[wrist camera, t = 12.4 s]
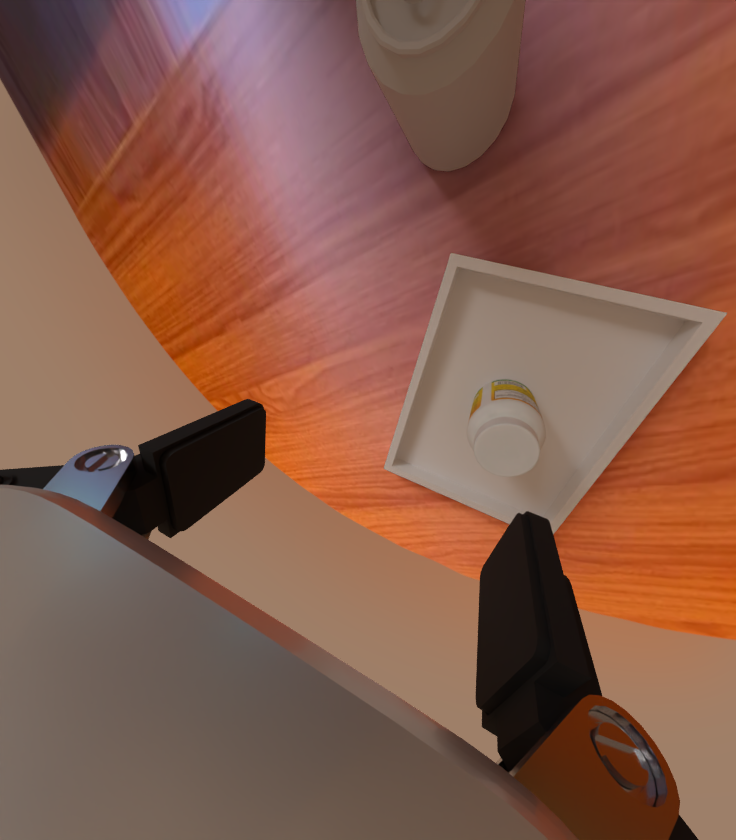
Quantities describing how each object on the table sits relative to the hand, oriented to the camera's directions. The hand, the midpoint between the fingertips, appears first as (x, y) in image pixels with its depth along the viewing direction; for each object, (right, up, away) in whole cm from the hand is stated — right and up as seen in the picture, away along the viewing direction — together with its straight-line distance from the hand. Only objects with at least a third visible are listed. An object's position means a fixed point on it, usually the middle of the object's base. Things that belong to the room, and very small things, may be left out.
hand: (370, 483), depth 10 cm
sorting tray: (+13, +4, +17) cm, 22 cm away
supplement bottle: (+13, +4, +17) cm, 22 cm away
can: (+7, +25, +11) cm, 28 cm away
